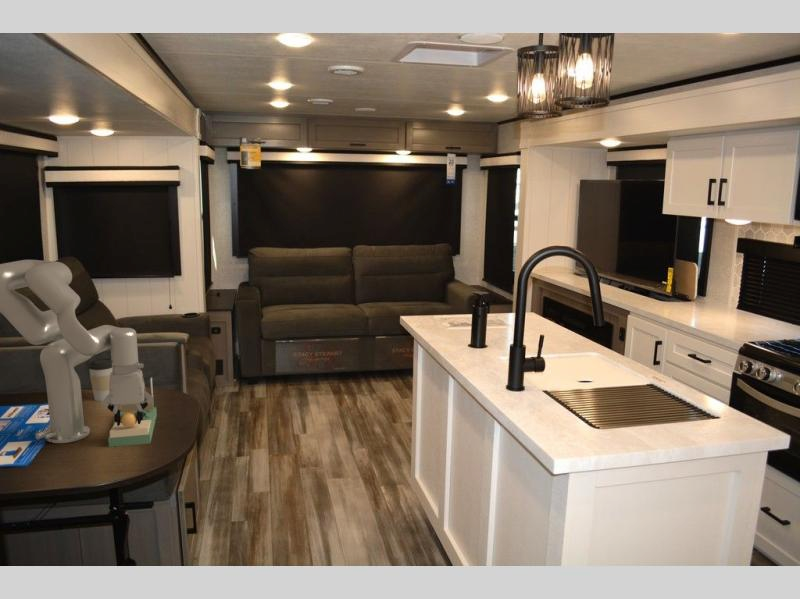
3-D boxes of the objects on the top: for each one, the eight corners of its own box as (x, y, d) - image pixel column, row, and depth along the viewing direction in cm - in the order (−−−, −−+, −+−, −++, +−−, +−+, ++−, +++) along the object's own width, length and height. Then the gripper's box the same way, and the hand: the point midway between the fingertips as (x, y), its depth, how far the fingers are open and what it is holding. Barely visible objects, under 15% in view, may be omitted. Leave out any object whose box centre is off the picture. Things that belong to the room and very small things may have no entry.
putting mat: (150, 443, 202) (147, 401, 199) (108, 447, 199) (105, 404, 196) (157, 414, 225) (154, 376, 223) (120, 416, 222) (117, 378, 219)
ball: (141, 425, 202) (140, 410, 201) (128, 430, 198) (127, 415, 197) (130, 422, 205) (129, 407, 204) (117, 427, 201) (116, 412, 200)
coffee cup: (112, 392, 246) (109, 354, 243) (121, 398, 240) (118, 360, 237) (87, 397, 240) (84, 359, 237) (96, 404, 233) (93, 364, 230)
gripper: (156, 362, 203) (159, 416, 207) (97, 366, 199) (101, 421, 203) (154, 370, 196) (157, 425, 200) (93, 373, 192) (97, 430, 195)
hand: (129, 422), depth 201 cm, fingers open, 5 cm apart
